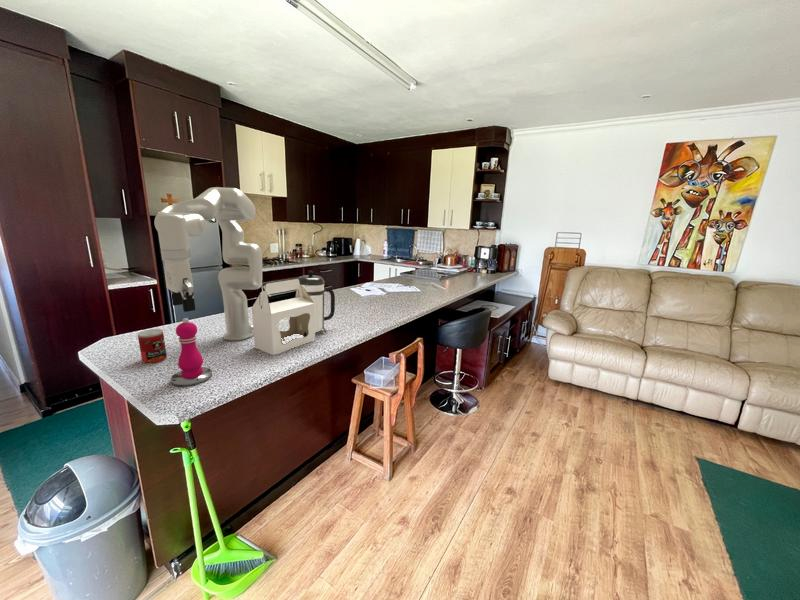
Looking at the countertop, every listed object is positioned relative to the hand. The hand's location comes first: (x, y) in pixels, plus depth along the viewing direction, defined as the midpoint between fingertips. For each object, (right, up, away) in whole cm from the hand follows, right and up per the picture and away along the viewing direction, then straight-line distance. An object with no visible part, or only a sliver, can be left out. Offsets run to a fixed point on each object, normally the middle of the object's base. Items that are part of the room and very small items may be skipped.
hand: (184, 307), depth 108 cm
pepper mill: (-1, -23, +5) cm, 24 cm away
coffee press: (+28, -13, +54) cm, 62 cm away
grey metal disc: (-1, -24, +5) cm, 25 cm away
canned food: (-23, -20, +19) cm, 36 cm away
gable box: (+20, -17, +38) cm, 46 cm away
